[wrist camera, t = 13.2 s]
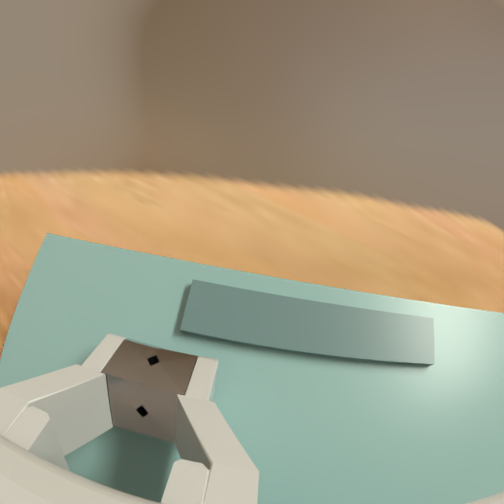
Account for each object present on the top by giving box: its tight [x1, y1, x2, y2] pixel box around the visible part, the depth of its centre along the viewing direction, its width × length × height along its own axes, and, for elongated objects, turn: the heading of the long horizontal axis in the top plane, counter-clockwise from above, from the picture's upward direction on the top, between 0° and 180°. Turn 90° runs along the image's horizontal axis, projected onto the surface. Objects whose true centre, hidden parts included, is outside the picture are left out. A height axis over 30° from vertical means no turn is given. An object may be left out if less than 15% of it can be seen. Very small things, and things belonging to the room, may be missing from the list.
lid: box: [0, 233, 504, 504], centre depth 8 cm, size 20×12×1 cm, turn 81°
